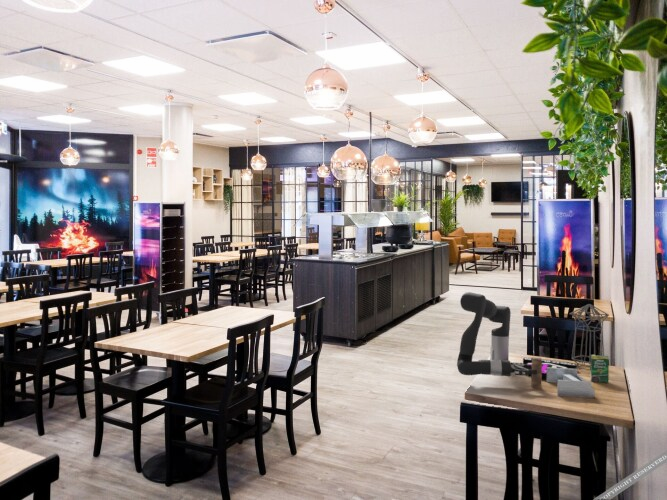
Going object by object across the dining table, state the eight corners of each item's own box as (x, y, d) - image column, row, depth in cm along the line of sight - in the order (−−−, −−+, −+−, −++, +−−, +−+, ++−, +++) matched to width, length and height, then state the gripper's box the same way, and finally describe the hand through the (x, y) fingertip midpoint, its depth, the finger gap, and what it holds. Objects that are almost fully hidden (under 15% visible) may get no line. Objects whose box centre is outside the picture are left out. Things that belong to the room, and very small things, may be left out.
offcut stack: (573, 394, 243) (574, 381, 243) (562, 386, 255) (562, 374, 255) (581, 394, 243) (582, 381, 243) (569, 386, 255) (570, 374, 255)
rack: (557, 395, 241) (558, 380, 240) (546, 381, 263) (546, 367, 263) (594, 397, 238) (594, 382, 238) (579, 383, 261) (579, 369, 260)
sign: (524, 363, 298) (515, 377, 272) (524, 357, 298) (515, 369, 272) (577, 370, 286) (573, 384, 259) (577, 363, 286) (573, 377, 259)
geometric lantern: (580, 362, 300) (582, 301, 298) (609, 369, 287) (611, 304, 286) (566, 367, 290) (567, 303, 289) (594, 373, 278) (596, 307, 276)
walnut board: (532, 388, 252) (533, 358, 251) (531, 386, 255) (531, 357, 254) (541, 388, 251) (542, 359, 251) (539, 386, 254) (540, 357, 254)
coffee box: (590, 381, 264) (591, 355, 263) (590, 379, 266) (590, 354, 266) (608, 383, 260) (609, 357, 260) (608, 381, 263) (608, 355, 262)
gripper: (502, 363, 248) (538, 365, 246) (497, 356, 262) (532, 358, 260) (501, 379, 249) (538, 381, 246) (497, 371, 263) (531, 373, 260)
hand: (534, 369), depth 253 cm, fingers open, 8 cm apart
